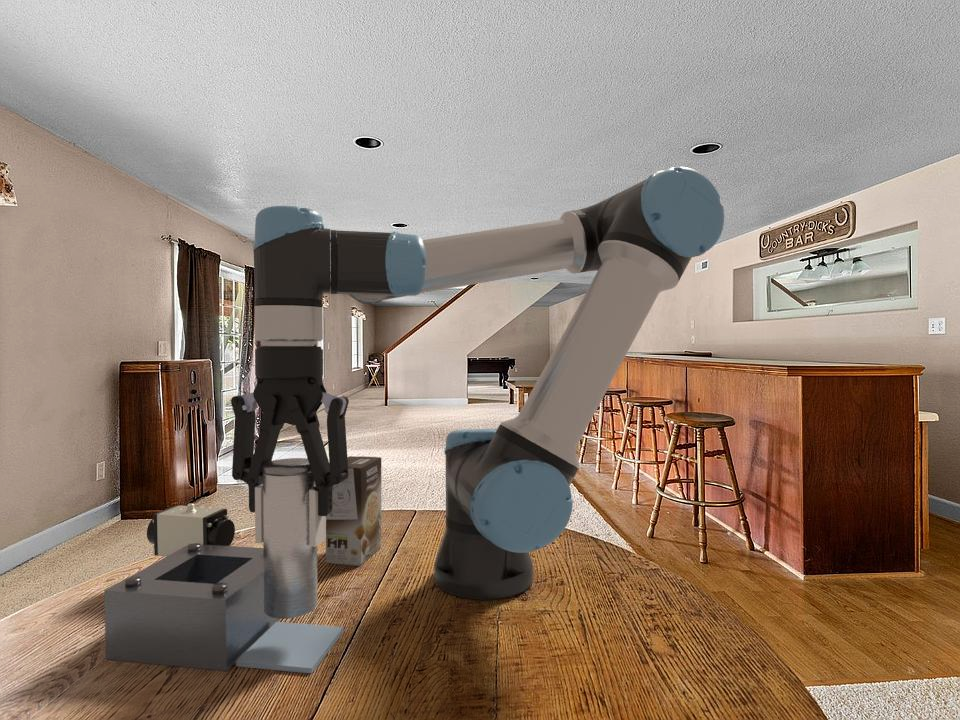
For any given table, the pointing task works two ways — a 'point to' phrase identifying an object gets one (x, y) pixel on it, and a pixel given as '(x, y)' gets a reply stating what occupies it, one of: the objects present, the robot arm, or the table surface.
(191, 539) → the pneumatic valve
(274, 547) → the metal cylinder
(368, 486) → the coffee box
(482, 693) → the table surface
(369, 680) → the table surface
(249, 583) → the housing
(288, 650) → the pad
